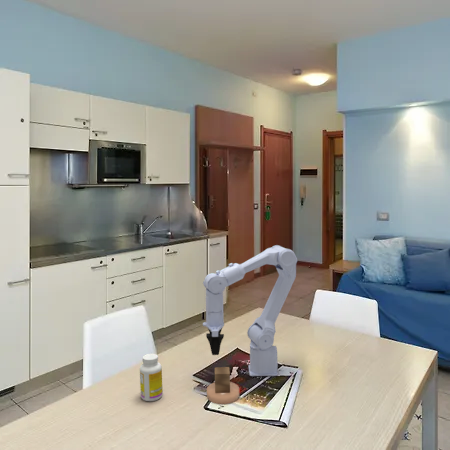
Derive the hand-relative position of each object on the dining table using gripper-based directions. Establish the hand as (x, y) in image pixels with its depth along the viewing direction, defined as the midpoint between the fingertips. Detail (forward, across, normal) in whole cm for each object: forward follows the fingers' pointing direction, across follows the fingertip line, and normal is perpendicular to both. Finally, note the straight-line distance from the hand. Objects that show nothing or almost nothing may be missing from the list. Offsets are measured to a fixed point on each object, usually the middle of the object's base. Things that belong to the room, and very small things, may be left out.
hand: (215, 349), depth 140 cm
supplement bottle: (+10, +11, -20) cm, 25 cm away
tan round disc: (+10, +11, +2) cm, 16 cm away
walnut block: (+8, +12, +2) cm, 14 cm away
